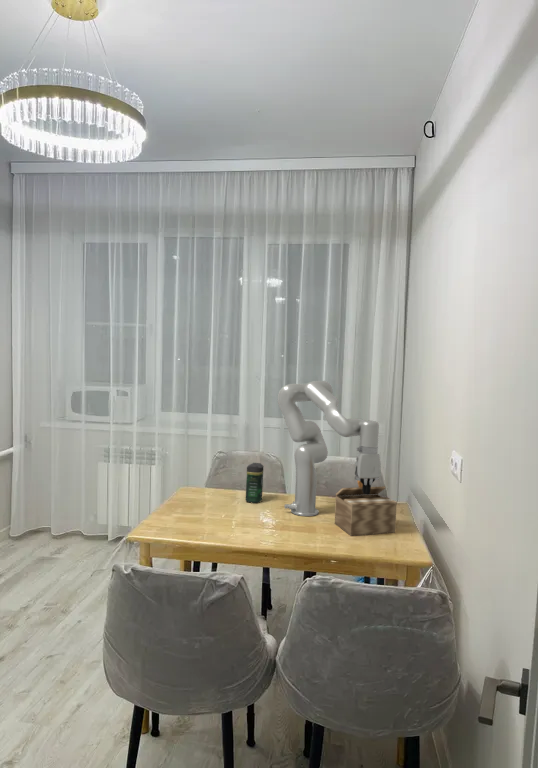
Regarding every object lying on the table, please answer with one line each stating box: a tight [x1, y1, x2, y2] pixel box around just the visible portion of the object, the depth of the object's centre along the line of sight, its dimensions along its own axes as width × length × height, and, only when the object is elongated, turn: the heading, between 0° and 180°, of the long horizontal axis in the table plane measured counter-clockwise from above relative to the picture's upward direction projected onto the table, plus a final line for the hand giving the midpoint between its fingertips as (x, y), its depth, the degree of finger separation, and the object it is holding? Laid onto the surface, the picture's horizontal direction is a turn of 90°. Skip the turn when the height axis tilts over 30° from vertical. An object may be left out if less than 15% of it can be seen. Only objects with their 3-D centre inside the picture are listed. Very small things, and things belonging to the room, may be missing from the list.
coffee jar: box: [245, 462, 264, 504], centre depth 256 cm, size 10×8×19 cm
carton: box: [334, 494, 398, 537], centre depth 219 cm, size 20×16×13 cm
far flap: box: [335, 477, 386, 497], centre depth 225 cm, size 20×8×6 cm
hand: (366, 493), depth 218 cm, fingers closed
